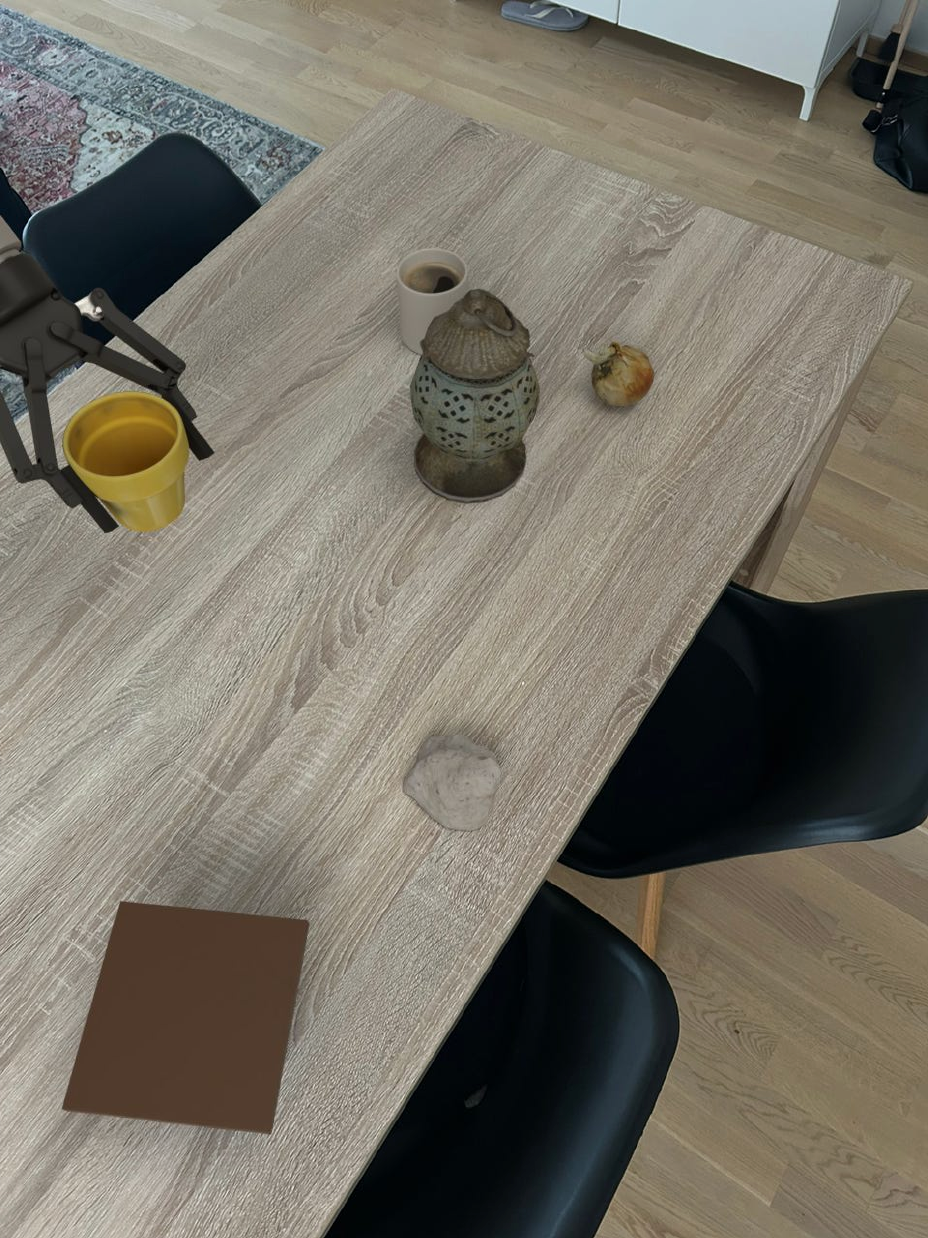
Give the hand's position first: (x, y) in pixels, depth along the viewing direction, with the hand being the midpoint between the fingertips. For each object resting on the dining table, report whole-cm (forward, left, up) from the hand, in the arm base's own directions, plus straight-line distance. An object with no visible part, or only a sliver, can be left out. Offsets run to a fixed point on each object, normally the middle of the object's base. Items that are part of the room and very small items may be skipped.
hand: (160, 492), depth 93 cm
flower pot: (-2, +2, -4) cm, 5 cm away
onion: (+42, +38, -23) cm, 62 cm away
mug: (+19, +48, -23) cm, 56 cm away
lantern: (+26, +26, -23) cm, 43 cm away
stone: (+28, -16, -23) cm, 39 cm away
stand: (+9, -41, -23) cm, 48 cm away
